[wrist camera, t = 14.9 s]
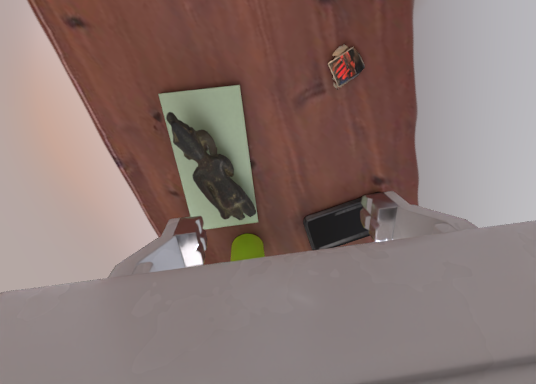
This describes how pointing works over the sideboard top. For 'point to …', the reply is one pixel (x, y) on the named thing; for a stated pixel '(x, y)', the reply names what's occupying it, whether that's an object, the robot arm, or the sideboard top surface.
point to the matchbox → (345, 65)
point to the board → (225, 137)
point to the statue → (211, 170)
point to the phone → (335, 226)
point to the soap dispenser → (247, 247)
